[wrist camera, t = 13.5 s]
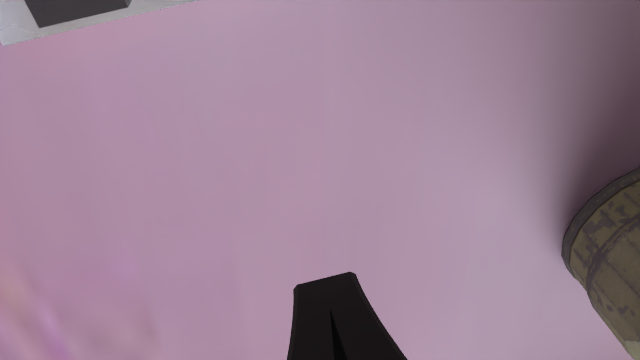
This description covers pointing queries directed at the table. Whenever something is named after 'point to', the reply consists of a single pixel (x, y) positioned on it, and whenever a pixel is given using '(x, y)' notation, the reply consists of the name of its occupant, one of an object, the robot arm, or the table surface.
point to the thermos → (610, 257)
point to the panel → (66, 15)
